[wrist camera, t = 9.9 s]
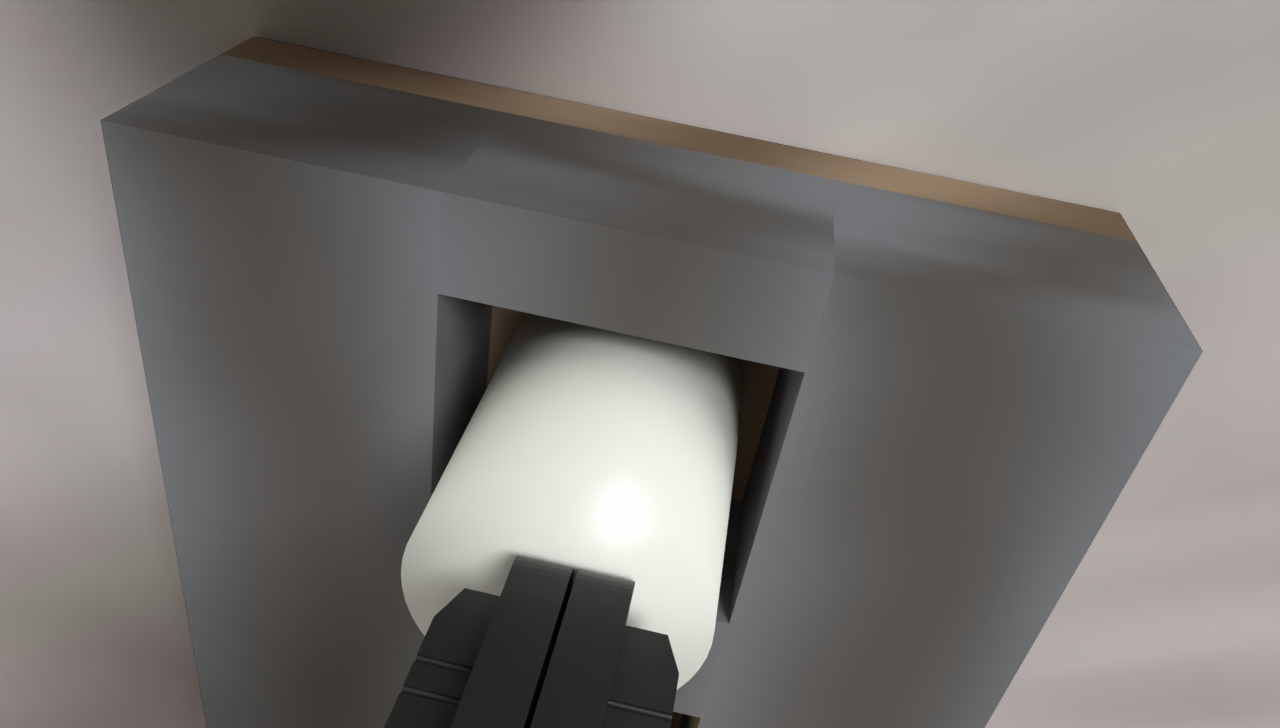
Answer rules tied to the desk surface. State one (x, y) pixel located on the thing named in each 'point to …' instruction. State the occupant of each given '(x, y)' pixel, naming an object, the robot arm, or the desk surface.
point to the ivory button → (591, 478)
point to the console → (634, 305)
